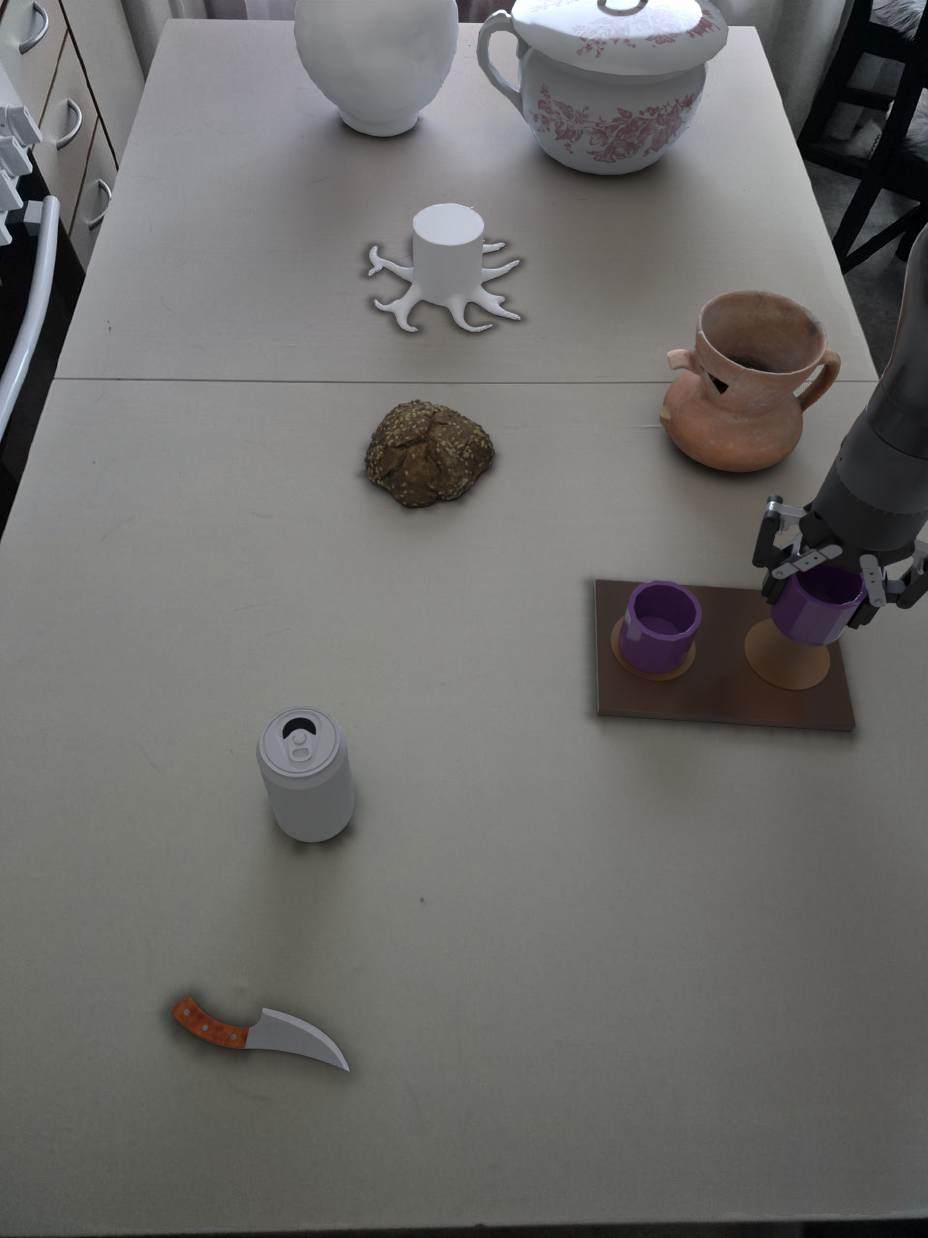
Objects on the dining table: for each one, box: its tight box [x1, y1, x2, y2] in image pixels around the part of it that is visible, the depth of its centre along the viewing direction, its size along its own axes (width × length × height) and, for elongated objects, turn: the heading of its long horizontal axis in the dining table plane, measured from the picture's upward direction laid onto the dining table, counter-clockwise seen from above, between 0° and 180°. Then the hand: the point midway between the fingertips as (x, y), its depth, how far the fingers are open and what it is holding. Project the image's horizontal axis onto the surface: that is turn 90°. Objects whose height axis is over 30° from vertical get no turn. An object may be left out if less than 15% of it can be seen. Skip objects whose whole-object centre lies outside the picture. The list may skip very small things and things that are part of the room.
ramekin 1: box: [618, 579, 702, 674], centre depth 84 cm, size 6×6×5 cm
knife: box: [170, 997, 351, 1073], centre depth 67 cm, size 13×1×3 cm
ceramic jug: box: [659, 288, 842, 473], centre depth 97 cm, size 18×14×14 cm
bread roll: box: [364, 398, 496, 508], centre depth 97 cm, size 13×12×5 cm
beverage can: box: [255, 704, 356, 843], centre depth 72 cm, size 6×6×12 cm
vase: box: [293, 0, 460, 138], centre depth 124 cm, size 19×21×30 cm
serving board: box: [593, 578, 856, 732], centre depth 87 cm, size 22×14×1 cm, turn 87°
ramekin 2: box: [770, 564, 868, 646], centre depth 79 cm, size 6×6×5 cm
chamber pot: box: [475, 0, 730, 176], centre depth 126 cm, size 28×28×21 cm
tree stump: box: [367, 201, 521, 333], centre depth 113 cm, size 20×19×8 cm
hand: (811, 608), depth 80 cm, fingers closed on ramekin 2, 6 cm apart
